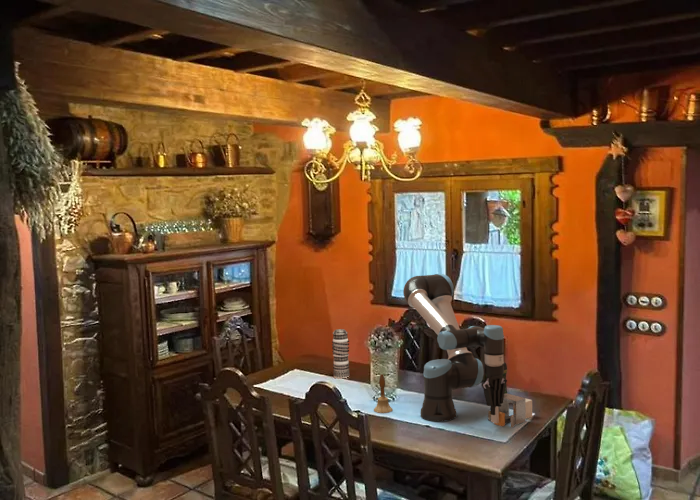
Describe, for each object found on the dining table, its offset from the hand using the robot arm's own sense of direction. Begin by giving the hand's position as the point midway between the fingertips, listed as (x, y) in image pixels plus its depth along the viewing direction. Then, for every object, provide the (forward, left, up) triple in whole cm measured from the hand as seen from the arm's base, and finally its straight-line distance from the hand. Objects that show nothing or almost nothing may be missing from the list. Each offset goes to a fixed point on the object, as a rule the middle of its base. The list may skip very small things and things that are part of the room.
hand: (494, 422), depth 269 cm
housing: (+8, 0, -2) cm, 9 cm away
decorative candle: (+1, +104, -2) cm, 104 cm away
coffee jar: (+26, +21, -2) cm, 34 cm away
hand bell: (-19, +46, -2) cm, 50 cm away
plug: (+11, 0, -2) cm, 11 cm away
